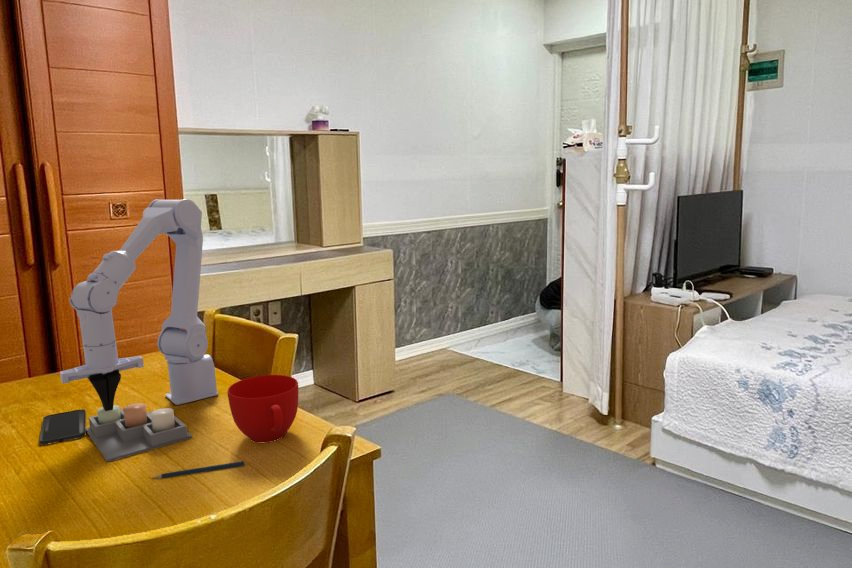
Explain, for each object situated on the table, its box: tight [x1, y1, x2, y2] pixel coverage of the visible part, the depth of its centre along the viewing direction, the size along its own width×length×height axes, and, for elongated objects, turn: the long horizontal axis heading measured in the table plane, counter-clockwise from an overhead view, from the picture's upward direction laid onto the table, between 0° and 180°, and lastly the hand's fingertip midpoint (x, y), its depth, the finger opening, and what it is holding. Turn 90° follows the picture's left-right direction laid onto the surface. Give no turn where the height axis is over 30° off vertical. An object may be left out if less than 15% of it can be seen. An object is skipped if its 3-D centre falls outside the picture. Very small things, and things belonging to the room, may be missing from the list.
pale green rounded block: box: [96, 404, 121, 425], centre depth 130 cm, size 4×4×3 cm
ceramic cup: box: [226, 374, 299, 443], centre depth 122 cm, size 13×17×10 cm
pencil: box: [152, 460, 245, 480], centre depth 111 cm, size 1×1×15 cm
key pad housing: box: [85, 408, 193, 463], centre depth 128 cm, size 15×18×3 cm
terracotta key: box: [122, 402, 148, 427], centre depth 127 cm, size 4×4×3 cm
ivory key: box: [151, 407, 175, 433], centre depth 125 cm, size 4×4×3 cm
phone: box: [38, 408, 87, 445], centre depth 132 cm, size 8×1×15 cm
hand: (108, 409), depth 129 cm, fingers closed, pressing on pale green rounded block
